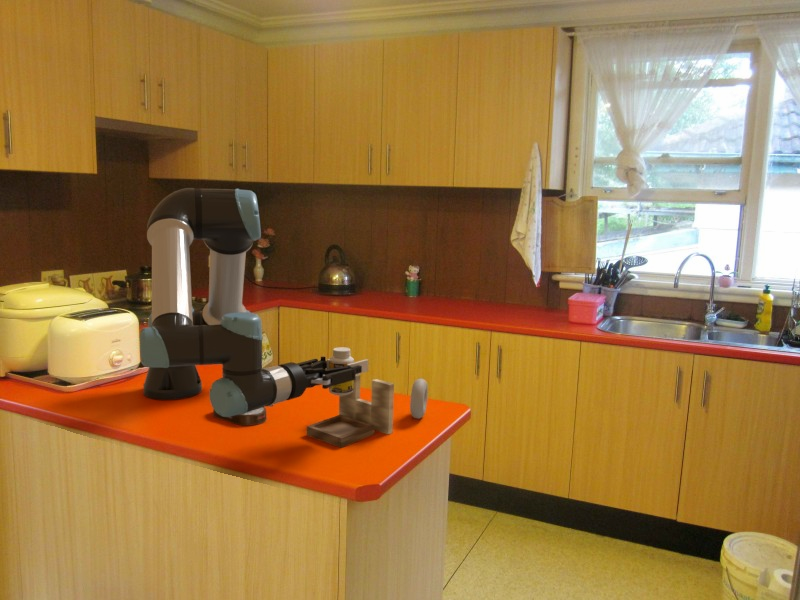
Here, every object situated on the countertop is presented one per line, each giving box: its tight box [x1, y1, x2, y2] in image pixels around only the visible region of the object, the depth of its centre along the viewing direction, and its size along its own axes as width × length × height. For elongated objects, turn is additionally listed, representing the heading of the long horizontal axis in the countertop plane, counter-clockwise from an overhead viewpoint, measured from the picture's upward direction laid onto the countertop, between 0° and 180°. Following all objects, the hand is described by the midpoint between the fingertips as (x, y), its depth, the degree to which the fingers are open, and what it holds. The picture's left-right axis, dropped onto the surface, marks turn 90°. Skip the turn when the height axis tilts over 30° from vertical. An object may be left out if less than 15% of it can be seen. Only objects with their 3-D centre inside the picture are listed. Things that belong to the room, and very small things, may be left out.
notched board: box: [338, 374, 395, 435], centre depth 157 cm, size 16×2×12 cm, turn 51°
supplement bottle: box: [328, 346, 355, 396], centre depth 149 cm, size 6×6×10 cm
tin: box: [212, 406, 268, 426], centre depth 162 cm, size 15×3×8 cm
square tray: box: [306, 414, 375, 448], centre depth 152 cm, size 11×11×2 cm
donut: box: [409, 378, 429, 419], centre depth 164 cm, size 10×4×10 cm, turn 169°
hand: (357, 362), depth 153 cm, fingers closed on supplement bottle, 6 cm apart
